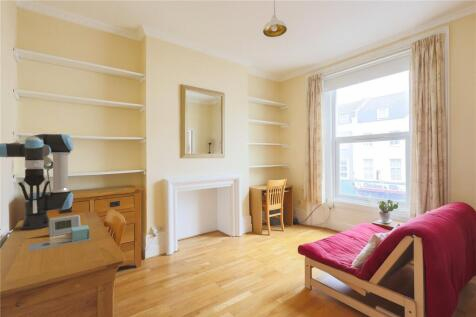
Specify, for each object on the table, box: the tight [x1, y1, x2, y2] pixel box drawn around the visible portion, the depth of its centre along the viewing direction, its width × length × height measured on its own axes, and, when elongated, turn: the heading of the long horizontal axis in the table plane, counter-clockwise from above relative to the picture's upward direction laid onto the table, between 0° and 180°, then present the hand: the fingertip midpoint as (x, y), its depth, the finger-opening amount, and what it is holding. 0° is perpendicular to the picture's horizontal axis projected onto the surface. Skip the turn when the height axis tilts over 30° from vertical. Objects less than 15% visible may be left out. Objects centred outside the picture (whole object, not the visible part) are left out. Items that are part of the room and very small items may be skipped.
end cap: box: [70, 224, 90, 242], centre depth 137 cm, size 9×8×6 cm
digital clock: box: [48, 214, 82, 238], centre depth 147 cm, size 16×9×11 cm, turn 121°
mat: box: [27, 236, 92, 252], centre depth 131 cm, size 12×27×1 cm, turn 129°
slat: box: [49, 233, 72, 245], centre depth 133 cm, size 4×14×3 cm, turn 129°
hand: (35, 212), depth 125 cm, fingers closed
